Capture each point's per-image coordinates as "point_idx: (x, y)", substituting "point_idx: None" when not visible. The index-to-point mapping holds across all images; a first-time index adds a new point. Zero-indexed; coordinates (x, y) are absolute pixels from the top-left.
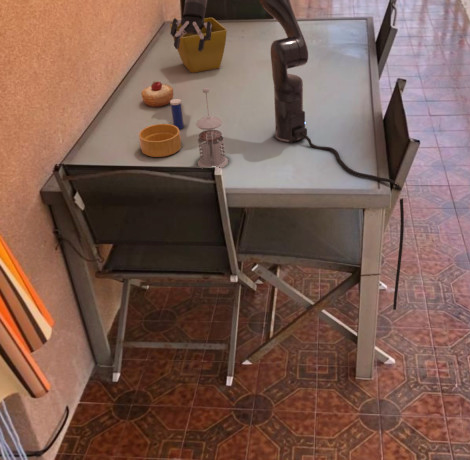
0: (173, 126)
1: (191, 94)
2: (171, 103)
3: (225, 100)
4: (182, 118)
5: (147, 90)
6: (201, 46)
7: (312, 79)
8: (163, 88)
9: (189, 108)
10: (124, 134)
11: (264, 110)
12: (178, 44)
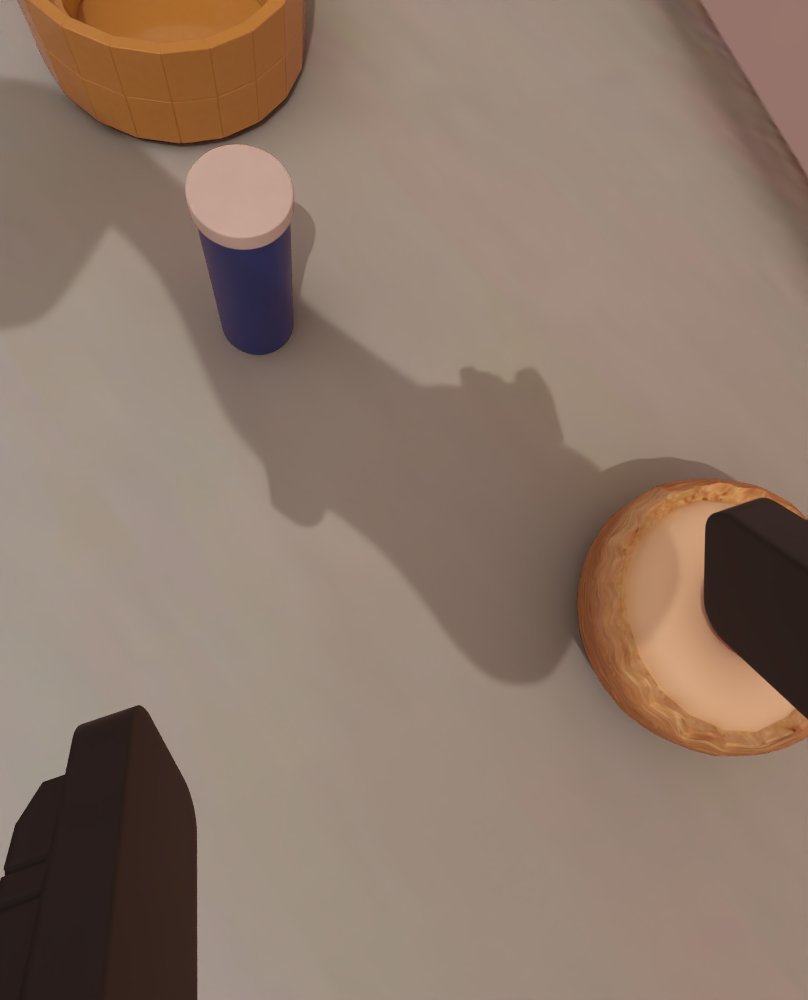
0: (112, 37)
1: (546, 883)
2: (253, 151)
3: None
4: (217, 301)
5: None
6: (50, 838)
7: None
8: (694, 635)
9: (383, 628)
10: (524, 123)
11: None
12: (784, 640)
